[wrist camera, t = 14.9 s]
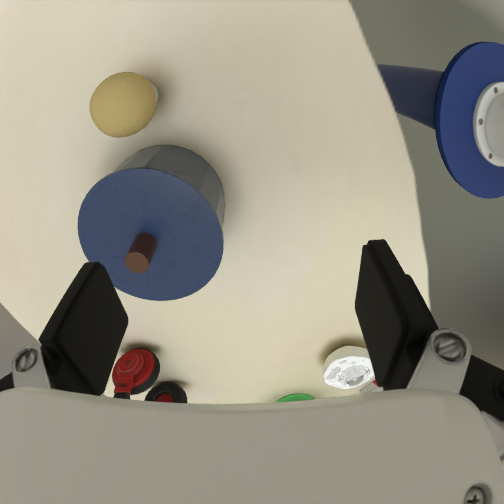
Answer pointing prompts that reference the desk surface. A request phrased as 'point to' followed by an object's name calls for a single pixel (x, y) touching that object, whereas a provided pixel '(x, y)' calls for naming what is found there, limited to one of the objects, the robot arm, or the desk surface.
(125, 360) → the headphones
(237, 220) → the desk surface
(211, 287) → the desk surface
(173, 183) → the pot lid
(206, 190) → the pot
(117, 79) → the light bulb
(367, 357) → the cell model
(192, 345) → the desk surface
